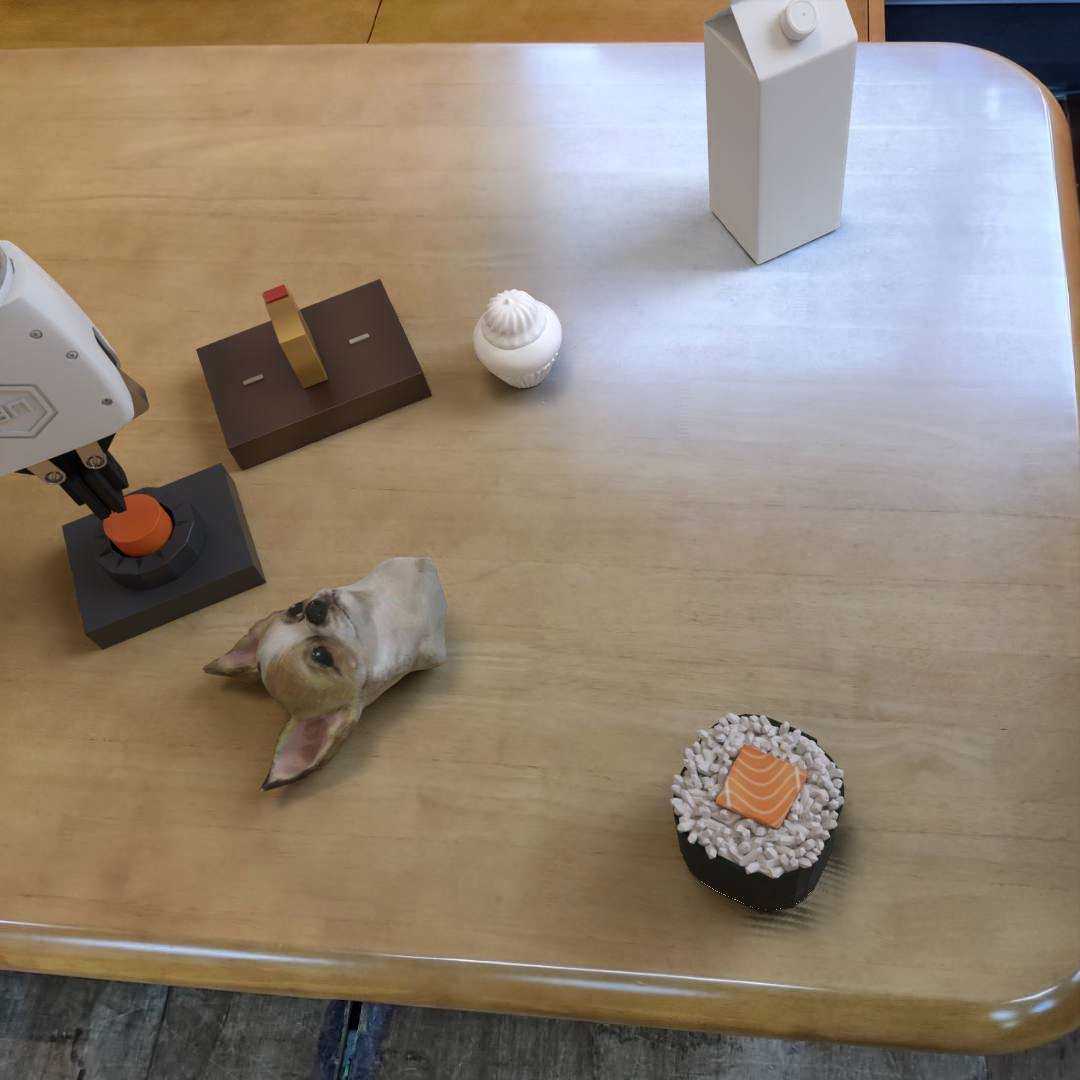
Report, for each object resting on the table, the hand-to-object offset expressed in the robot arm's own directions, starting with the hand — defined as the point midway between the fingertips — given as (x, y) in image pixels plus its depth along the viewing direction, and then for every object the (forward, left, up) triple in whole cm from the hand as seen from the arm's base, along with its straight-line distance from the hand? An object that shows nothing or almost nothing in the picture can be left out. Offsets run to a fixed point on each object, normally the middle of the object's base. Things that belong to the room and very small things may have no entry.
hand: (110, 497), depth 67 cm
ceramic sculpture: (+13, -10, -7) cm, 18 cm away
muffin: (+24, +13, -7) cm, 29 cm away
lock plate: (+9, +14, -7) cm, 18 cm away
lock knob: (+9, +14, -5) cm, 17 cm away
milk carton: (+43, +25, -7) cm, 51 cm away
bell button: (0, 0, -4) cm, 4 cm away
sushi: (+36, -22, -7) cm, 43 cm away
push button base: (0, 0, -7) cm, 7 cm away
